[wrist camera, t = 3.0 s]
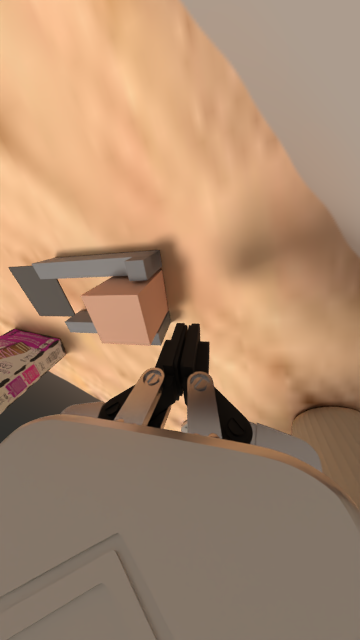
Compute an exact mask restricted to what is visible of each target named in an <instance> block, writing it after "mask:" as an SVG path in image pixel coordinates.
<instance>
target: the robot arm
mask: <svg viewBox="0 0 360 640" xmlns="http://www.w3.org/2000/svg"><path fill="white" fill-rule="evenodd" d="M183 393H184V399H185V404H186V405H187V421H186V422H184V423H183V424H182V428H181V432H178V431H172V430H166V429H163V428H164V425H165V423H166V420H167V418H168V415H169V412H170V410H171V405H172V404H173V403H175V401H176V400H178V401H179V396H182V394H183ZM0 640H360V510H359V508H358V507H357V505H356V504H355V503H354V501H353V500H352V499H351V498H350V497H349V495H348V494H347V493H346V492H345V491H344V490H343V489H342V488H341V487H340V486H339V485H338V484H336V483H335V482H334V481H333V480H332V479H330V478H329V477H327V476H326V475H325V474H323V472H322V467H321V462H320V459H319V456H318V454H317V453H316V451H315V450H314V449H313V447H311V446H310V445H309V444H308V443H307V442H305V441H303V440H301V439H299V438H296V437H294V436H291V435H288V434H286V433H283V432H280V431H278V430H275V429H272V428H270V427H267V426H264V425H261V424H259V423H257V424H254V423H251V422H249V421H248V420H247V419H246V418H245V417H244V416H243V415H242V414H241V413H240V412H239V411H238V410H237V409H236V408H235V407H234V406H233V405H232V404H231V403H230V402H229V401H228V400H227V399H226V398H225V397H224V396H223V395H222V394H221V393H220V392H219V391H218V390H217V389H216V388H215V387H214V384H213V380H212V378H211V376H210V375H209V342H200V324H192V325H189V328H187V325H185V324H184V323H177V324H176V327H175V330H174V333H173V336H172V339H171V340H166V341H165V343H164V346H163V348H162V351H161V353H160V356H159V359H158V361H157V364H156V366H155V368H150V369H148V370H146V371H145V372H144V373H143V374H142V375H141V377H140V379H139V380H138V382H137V383H136V385H134V386H132V387H131V388H129V389H127V390H126V391H124V392H122V393H120V394H119V395H117V396H115V397H114V398H112V399H110V400H109V401H108V402H106V403H104V402H103V401H102V402H93V403H85V404H76V405H71V406H69V407H67V408H66V409H65V410H64V411H63V412H62V413H61V414H60V415H51V416H46V417H42V418H39V419H36V420H33V421H31V422H28V423H26V424H24V425H22V426H21V427H19V428H18V429H16V430H15V431H14V432H13V433H12V434H11V435H9V436H8V437H7V438H6V439H5V440H4V441H3V442H2V443H1V444H0Z"/></svg>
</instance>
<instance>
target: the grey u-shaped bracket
mask: <svg viewBox="0 0 360 640" xmlns="http://www.w3.org/2000/svg"><path fill="white" fill-rule="evenodd" d="M32 266H33V267H34V269H35V271H36V273H37V274H38V276H39V278H40V279H60V278H83V277H106V276H128V278H129V281H144V280H148V279H149V278H150V277H151V276H152V275H153V274H154V273H156V272H157V271H158V270H159V269H160V268H161V267H162V263H161V256H160V250H151V251H138V252H125V253H112V254H99V255H86V256H73V257H60V258H52V259H48V260H45V261H41V262H37V263H33V264H32ZM65 323H66V325H67V327H68V328H69V330H70V332H79V333H97V330H96V328H95V326H94V324H93V322H92V320H91V317H90V315H89V313H88V311H80V312H78V313H77V314H75V315H74V316H72V317H71V318H70V319H68V320H67V321H65ZM170 323H171V322H170V315H169V312H167V313H166V315H165V317H164V319H163V321H162V323H161V325H160V327H159V329H158V331H157V333H156V335H155V337H154V339H153V341H152V343H151V345H161V344H162V342H163V339H164V337H165V335H166V332H167V330H168V327H169V325H170Z"/></svg>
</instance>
